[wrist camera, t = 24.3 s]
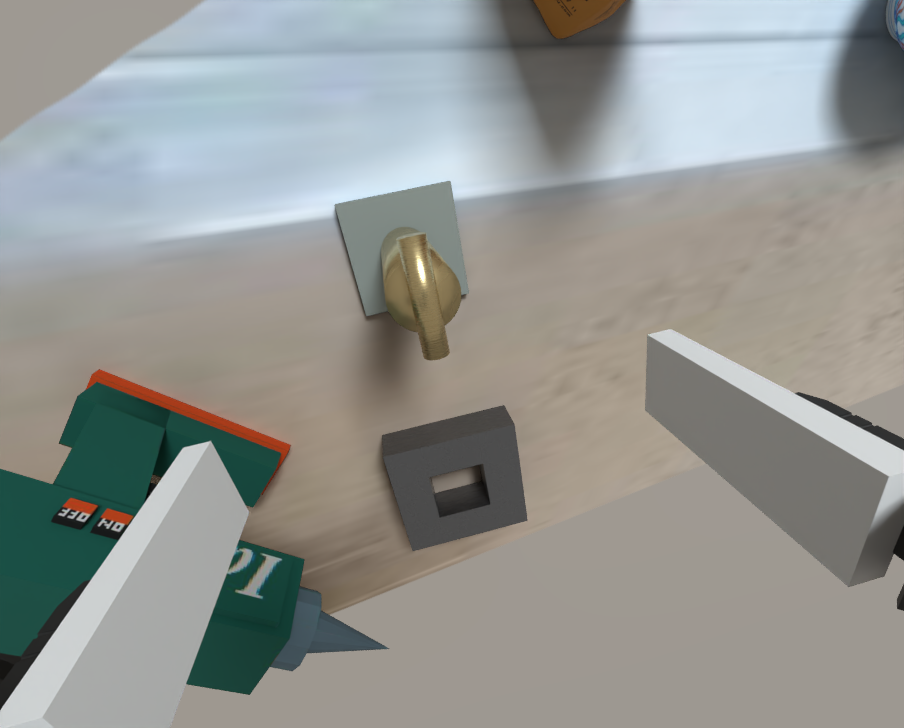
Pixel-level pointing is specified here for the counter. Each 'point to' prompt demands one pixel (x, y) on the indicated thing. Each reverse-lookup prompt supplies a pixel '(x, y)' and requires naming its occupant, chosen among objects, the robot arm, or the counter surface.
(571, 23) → the coffee package
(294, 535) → the counter surface
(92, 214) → the counter surface
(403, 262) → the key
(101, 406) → the power tool
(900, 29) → the chinaware
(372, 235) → the pad
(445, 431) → the chuck block
